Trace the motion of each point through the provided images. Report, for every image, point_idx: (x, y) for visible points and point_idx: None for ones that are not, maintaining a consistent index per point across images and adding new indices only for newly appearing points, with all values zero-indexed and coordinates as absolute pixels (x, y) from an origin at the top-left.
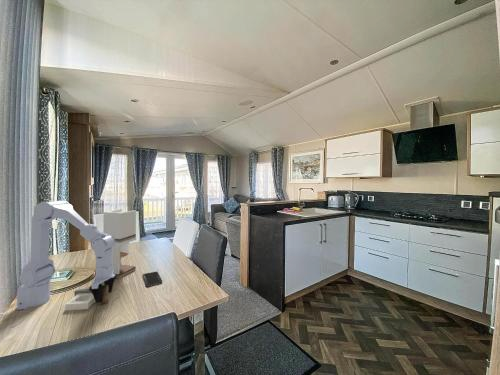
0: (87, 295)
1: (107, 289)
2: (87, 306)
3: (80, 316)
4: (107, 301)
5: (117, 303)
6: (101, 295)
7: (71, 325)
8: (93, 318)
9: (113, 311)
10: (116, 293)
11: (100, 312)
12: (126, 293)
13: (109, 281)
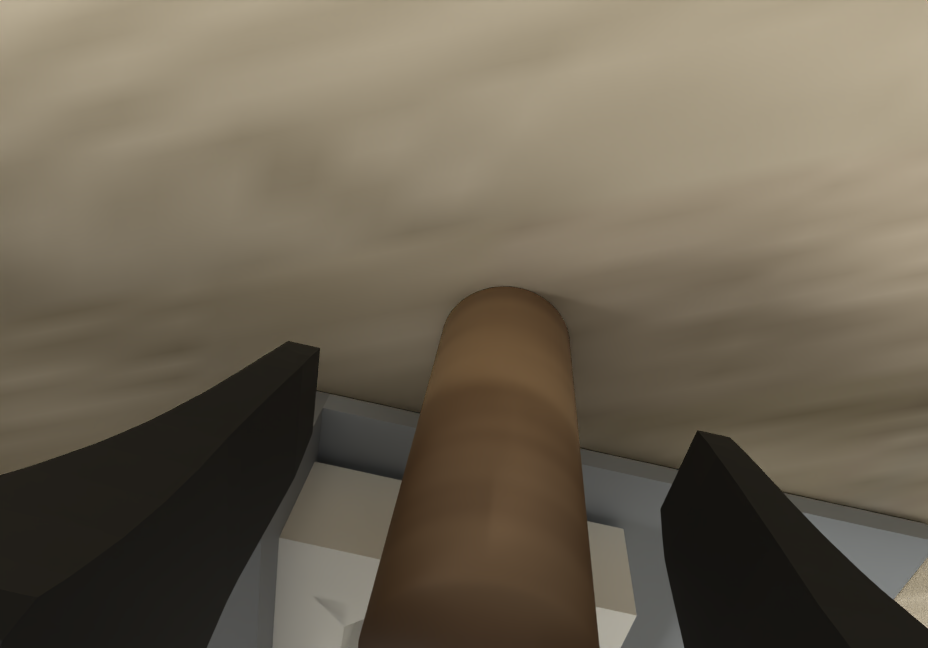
0: (343, 644)
1: (541, 514)
2: (625, 566)
3: None
4: (532, 324)
5: (534, 124)
6: (855, 583)
7: (901, 589)
8: (887, 403)
9: (840, 138)
10: (126, 223)
11: (745, 347)
12: (134, 12)
13: (172, 597)
